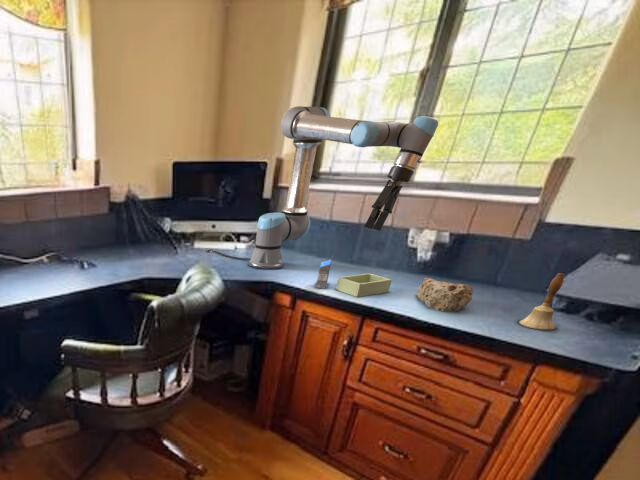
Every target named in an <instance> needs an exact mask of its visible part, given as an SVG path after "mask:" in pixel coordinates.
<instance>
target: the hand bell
mask: <svg viewBox="0 0 640 480" xmlns="http://www.w3.org/2000/svg"><path fill="white" fill-rule="evenodd" d="M564 276H565V273H563V272H558V273H557V274H556V275H555V277H553V278H552V279H551V281H550V283H549V285H548V289H547V291H548V292H547V294H546V297H545V298H544V300H543V303H542V304H541V305H538V306H535V307H534V308H533V310H532V311H531V312H530V313H529V314H528V316H526V317H525V318H523V319H521V320H519V324H520V325H521V326H523V327H526V328H530V329H535V330H541V331H552V330H555V329H556V325H555V324H554V322H553V316H554V313H555V312H554V311H555V310H554V309H553V308H552V307H551V304H552V302H553V299H554V297H555V296H556V294H557V293H558V292H559V290H560V289H561V288H562V286H563V284H564Z"/></svg>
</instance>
